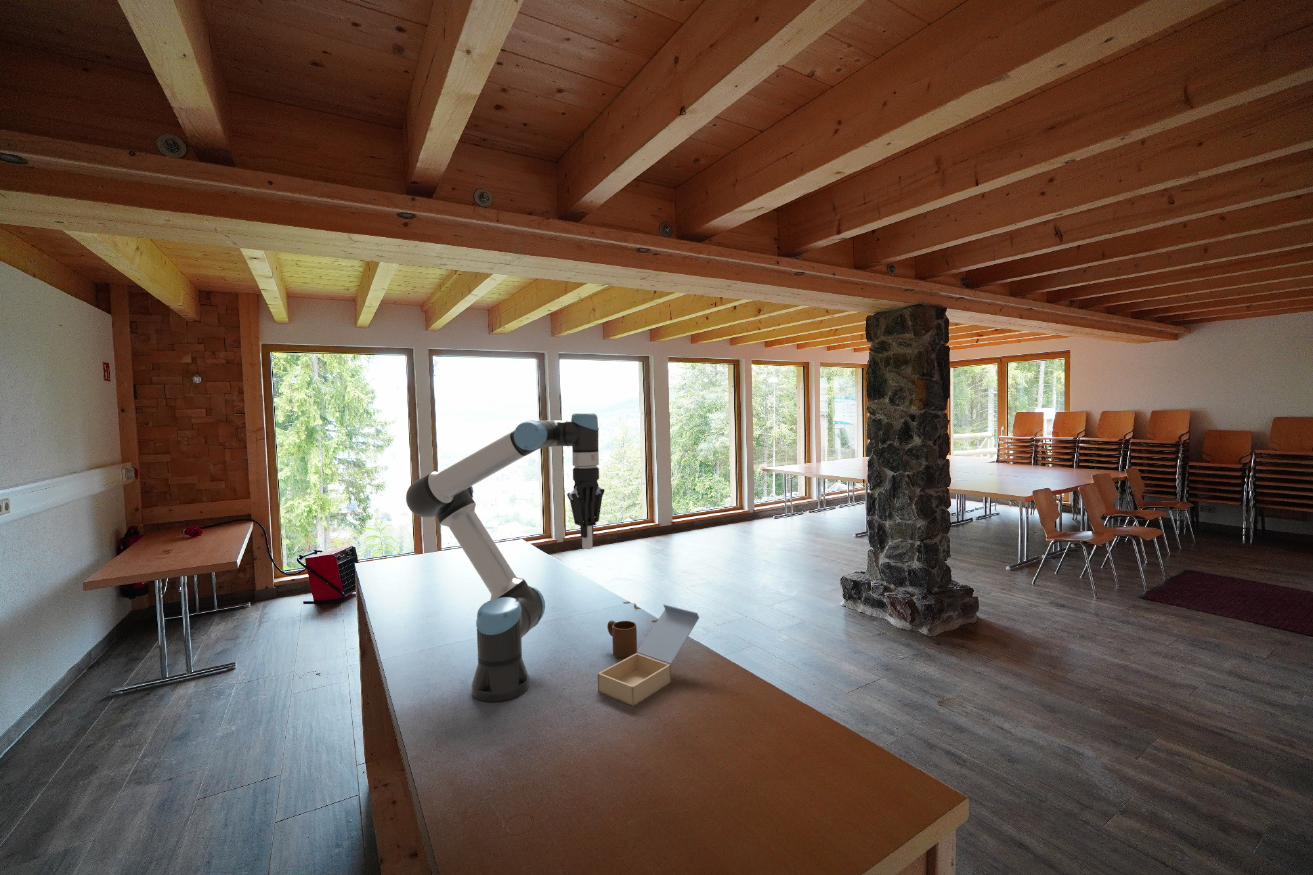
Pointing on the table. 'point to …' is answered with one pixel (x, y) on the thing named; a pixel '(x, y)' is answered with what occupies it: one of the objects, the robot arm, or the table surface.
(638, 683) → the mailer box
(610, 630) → the mug
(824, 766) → the table surface
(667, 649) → the lid
